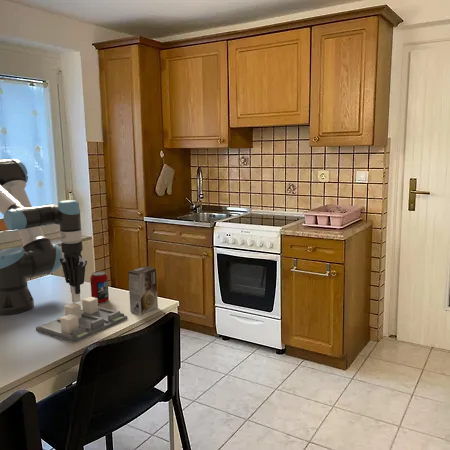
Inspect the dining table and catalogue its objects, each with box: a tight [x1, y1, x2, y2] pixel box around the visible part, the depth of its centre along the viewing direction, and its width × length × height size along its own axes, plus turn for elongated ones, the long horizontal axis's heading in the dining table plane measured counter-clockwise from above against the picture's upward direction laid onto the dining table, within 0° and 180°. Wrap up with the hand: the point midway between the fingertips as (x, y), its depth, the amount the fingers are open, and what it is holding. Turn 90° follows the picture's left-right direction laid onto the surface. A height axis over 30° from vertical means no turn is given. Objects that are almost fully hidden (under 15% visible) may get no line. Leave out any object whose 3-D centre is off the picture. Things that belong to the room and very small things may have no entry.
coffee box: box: [127, 265, 159, 316], centre depth 173 cm, size 9×6×16 cm
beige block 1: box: [63, 302, 82, 319], centre depth 163 cm, size 4×4×5 cm
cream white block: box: [81, 296, 99, 314], centre depth 170 cm, size 4×4×5 cm
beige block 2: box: [59, 314, 79, 334], centre depth 152 cm, size 4×4×5 cm
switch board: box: [35, 306, 128, 344], centre depth 161 cm, size 20×24×3 cm
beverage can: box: [89, 270, 110, 305], centre depth 183 cm, size 7×7×12 cm
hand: (76, 301), depth 174 cm, fingers closed
